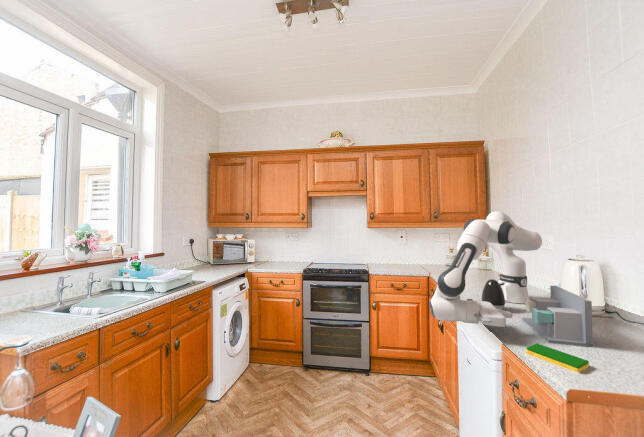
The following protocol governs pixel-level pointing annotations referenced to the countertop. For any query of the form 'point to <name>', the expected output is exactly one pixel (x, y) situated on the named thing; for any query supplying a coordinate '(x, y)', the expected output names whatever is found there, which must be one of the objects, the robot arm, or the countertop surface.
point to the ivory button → (530, 305)
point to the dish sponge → (558, 357)
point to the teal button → (542, 316)
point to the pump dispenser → (494, 294)
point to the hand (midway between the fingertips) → (511, 314)
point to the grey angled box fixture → (565, 319)
